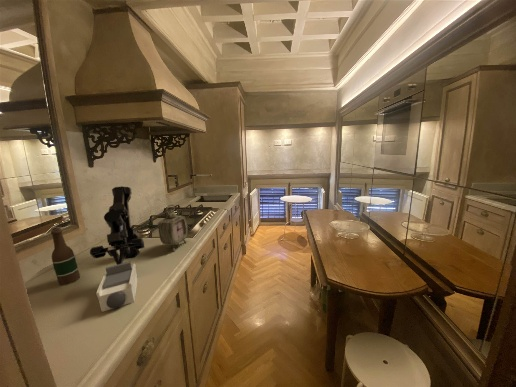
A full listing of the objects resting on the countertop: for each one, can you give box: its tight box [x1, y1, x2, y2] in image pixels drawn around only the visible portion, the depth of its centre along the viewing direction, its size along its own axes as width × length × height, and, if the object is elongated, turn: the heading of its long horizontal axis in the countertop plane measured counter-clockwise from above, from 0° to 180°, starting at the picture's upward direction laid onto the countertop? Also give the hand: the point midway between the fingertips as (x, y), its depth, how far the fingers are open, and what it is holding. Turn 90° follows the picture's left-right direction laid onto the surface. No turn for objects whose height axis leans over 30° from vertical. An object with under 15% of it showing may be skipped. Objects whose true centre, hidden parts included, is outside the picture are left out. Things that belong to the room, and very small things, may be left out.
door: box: [103, 261, 133, 289], centre depth 82 cm, size 9×8×4 cm
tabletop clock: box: [157, 204, 189, 252], centre depth 120 cm, size 14×9×25 cm, turn 164°
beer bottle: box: [50, 228, 81, 286], centre depth 93 cm, size 8×8×24 cm
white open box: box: [95, 263, 138, 312], centre depth 82 cm, size 17×10×8 cm, turn 25°
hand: (119, 267), depth 86 cm, fingers closed, pressing on door
